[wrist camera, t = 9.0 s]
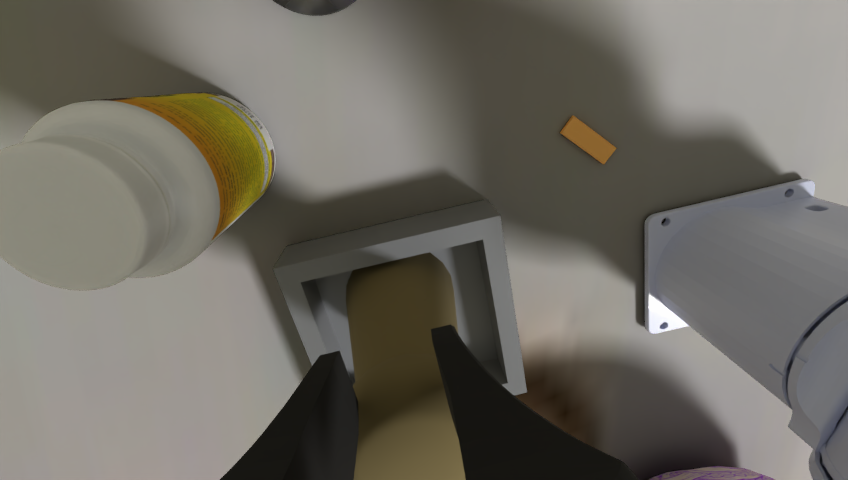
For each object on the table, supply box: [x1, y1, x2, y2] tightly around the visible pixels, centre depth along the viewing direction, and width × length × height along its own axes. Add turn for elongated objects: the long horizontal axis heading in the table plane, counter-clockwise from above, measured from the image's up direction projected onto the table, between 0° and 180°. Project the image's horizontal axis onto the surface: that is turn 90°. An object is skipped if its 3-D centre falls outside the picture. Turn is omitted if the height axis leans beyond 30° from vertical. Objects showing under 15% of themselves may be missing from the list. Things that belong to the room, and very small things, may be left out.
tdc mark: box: [560, 116, 616, 164], centre depth 21 cm, size 3×1×1 cm, turn 57°
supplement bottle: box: [0, 93, 276, 291], centre depth 15 cm, size 6×6×10 cm
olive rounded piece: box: [346, 252, 466, 480], centre depth 17 cm, size 6×6×11 cm
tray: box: [273, 199, 527, 395], centre depth 22 cm, size 11×11×3 cm
